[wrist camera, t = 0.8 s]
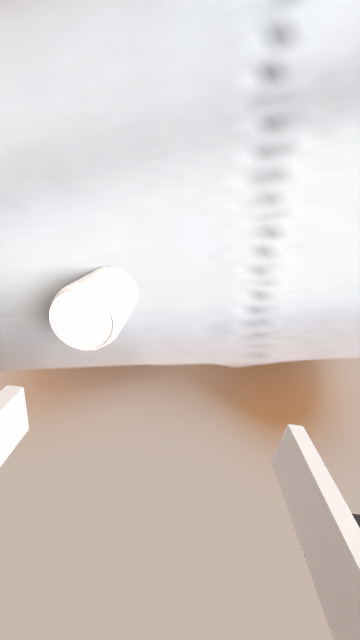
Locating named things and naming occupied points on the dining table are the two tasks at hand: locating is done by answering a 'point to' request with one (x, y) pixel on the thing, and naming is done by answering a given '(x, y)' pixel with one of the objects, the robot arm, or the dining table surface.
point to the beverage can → (93, 308)
